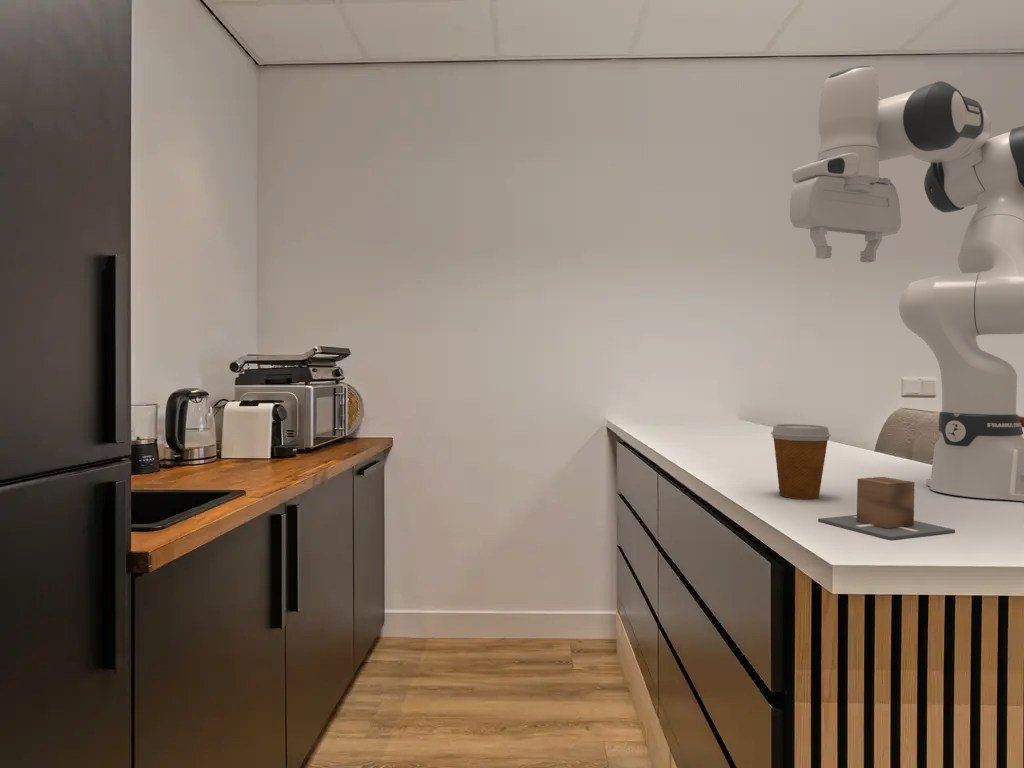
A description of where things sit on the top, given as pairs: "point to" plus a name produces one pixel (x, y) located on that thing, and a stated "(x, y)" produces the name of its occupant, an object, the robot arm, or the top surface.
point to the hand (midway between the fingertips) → (846, 260)
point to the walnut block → (885, 502)
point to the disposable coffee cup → (800, 459)
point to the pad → (890, 533)
